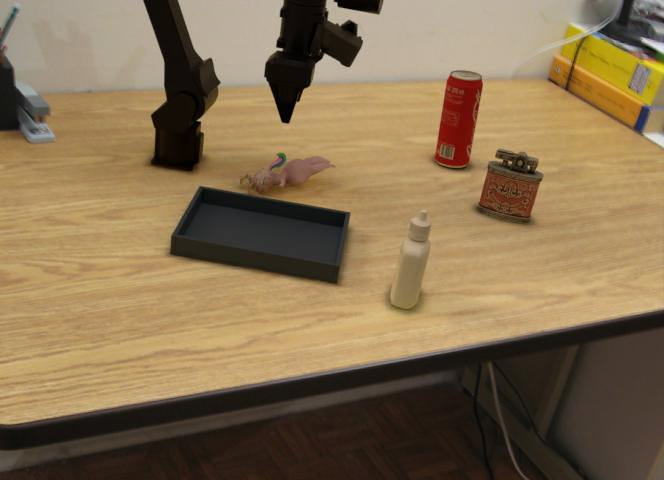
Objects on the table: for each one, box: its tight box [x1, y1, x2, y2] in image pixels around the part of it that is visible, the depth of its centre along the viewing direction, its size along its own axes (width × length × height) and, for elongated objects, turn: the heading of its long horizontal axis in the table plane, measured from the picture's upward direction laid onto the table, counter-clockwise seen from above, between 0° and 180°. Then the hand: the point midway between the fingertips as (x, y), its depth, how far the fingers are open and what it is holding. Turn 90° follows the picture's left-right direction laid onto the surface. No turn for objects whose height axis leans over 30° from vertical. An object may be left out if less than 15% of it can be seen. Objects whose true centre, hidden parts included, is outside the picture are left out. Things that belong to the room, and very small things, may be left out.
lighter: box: [476, 147, 544, 225], centre depth 128 cm, size 8×3×10 cm, turn 71°
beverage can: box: [434, 69, 484, 169], centre depth 141 cm, size 6×6×15 cm
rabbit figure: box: [239, 152, 336, 195], centre depth 128 cm, size 6×6×15 cm
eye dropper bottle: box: [389, 209, 432, 310], centre depth 104 cm, size 4×6×12 cm
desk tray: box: [169, 185, 351, 285], centre depth 114 cm, size 21×15×3 cm
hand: (290, 111), depth 125 cm, fingers open, 9 cm apart
